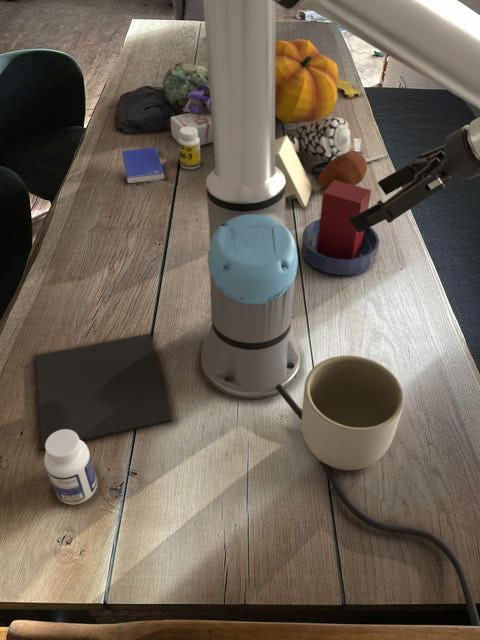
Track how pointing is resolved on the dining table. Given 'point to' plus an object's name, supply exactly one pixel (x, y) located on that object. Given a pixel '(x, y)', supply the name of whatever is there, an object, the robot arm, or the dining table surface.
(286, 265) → the robot arm
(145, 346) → the mat
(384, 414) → the planter
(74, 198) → the dining table surface
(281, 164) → the cream wooden brick
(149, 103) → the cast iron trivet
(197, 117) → the ink box
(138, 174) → the blue book
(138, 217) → the dining table surface
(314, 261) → the bowl
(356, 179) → the potato
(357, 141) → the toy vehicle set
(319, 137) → the seashell
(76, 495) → the pill bottle
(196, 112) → the toy race car
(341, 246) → the case
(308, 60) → the decorative pumpkin
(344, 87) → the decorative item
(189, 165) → the supplement bottle
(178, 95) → the rock
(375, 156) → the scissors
